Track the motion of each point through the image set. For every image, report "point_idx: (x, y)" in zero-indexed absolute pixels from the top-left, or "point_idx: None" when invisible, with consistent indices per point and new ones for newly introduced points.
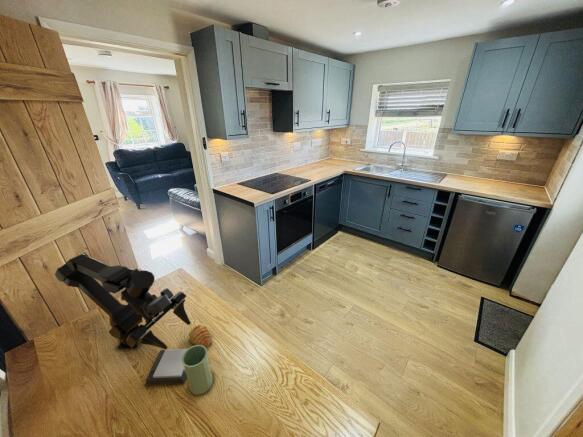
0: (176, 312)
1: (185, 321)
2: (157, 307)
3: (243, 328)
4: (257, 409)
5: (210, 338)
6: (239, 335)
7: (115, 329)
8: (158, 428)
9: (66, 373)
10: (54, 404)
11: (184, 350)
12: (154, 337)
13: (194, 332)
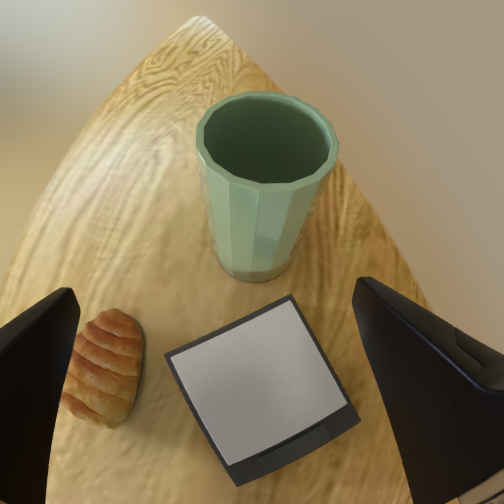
0: (17, 471)
1: (60, 337)
2: None
3: (33, 241)
4: None
5: (92, 320)
6: (57, 237)
7: None
8: (402, 266)
9: None
10: None
11: (190, 378)
12: (479, 364)
13: (96, 398)
